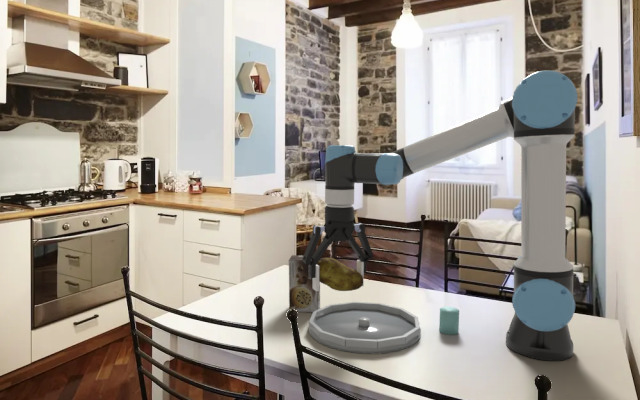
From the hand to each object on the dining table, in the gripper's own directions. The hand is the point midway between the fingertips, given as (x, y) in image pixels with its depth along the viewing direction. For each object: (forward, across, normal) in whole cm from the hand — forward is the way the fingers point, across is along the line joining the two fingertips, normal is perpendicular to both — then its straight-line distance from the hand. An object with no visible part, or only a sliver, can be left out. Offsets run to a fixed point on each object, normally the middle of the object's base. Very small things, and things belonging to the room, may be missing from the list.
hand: (338, 287), depth 123 cm
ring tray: (+13, -8, 0) cm, 15 cm away
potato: (+1, 0, 0) cm, 1 cm away
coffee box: (+13, +1, -22) cm, 25 cm away
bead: (+13, -29, +9) cm, 33 cm away
